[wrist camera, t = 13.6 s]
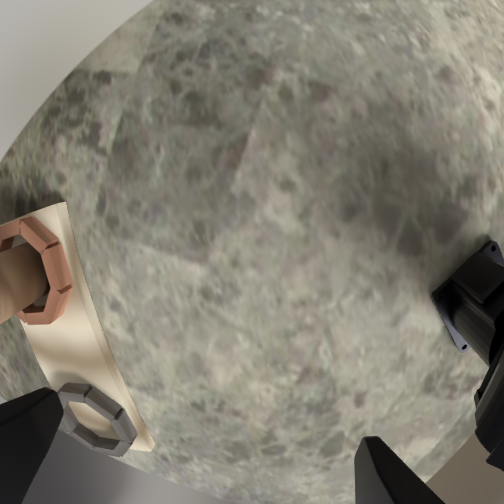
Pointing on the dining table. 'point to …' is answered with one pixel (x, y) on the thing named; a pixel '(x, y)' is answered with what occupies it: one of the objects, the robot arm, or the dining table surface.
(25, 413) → the robot arm
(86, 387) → the socket rail
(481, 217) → the dining table surface
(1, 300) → the walnut peg
